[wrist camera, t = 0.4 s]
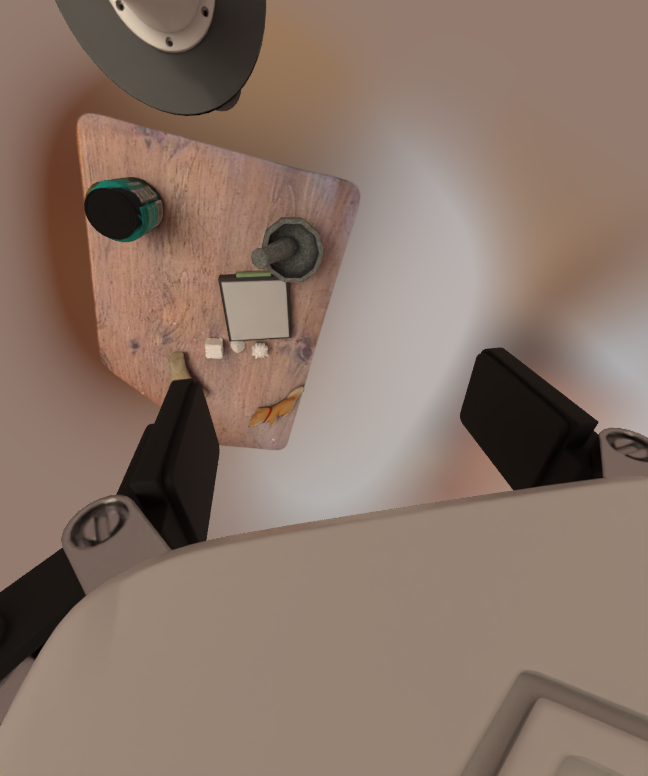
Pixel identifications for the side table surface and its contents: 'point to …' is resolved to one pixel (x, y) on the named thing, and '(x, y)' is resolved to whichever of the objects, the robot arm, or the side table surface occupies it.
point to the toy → (276, 409)
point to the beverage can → (123, 208)
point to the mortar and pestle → (290, 250)
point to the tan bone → (179, 368)
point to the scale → (255, 306)
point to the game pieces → (233, 348)
